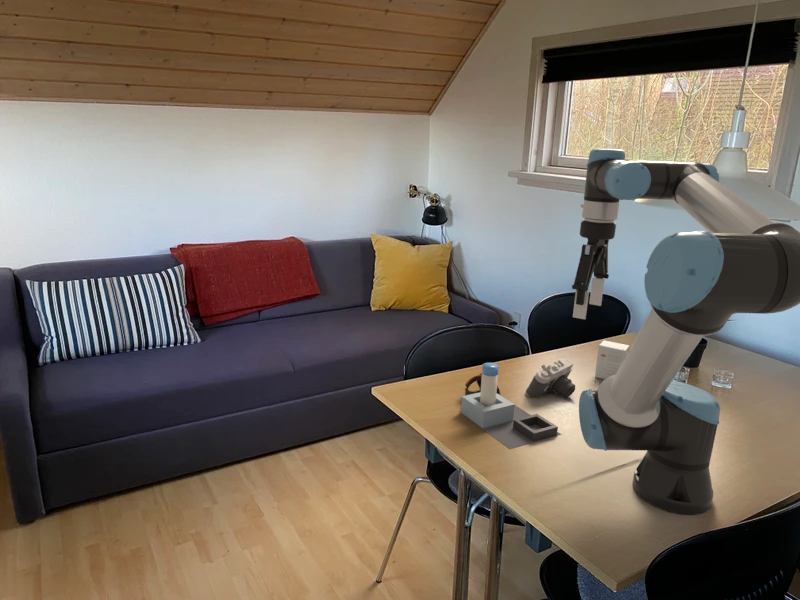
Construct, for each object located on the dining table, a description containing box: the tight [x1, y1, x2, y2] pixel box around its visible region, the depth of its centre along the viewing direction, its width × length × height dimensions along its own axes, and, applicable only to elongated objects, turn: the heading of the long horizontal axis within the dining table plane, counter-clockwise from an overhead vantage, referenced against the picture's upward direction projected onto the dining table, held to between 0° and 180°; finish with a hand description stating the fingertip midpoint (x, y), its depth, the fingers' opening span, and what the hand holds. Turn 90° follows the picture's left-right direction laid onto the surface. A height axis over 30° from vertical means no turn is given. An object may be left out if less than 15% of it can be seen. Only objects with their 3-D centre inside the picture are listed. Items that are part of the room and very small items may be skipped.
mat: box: [458, 404, 562, 450], centre depth 149 cm, size 21×16×1 cm
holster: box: [513, 413, 559, 443], centre depth 144 cm, size 8×8×2 cm
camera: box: [525, 357, 576, 399], centre depth 166 cm, size 9×16×10 cm, turn 134°
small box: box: [594, 339, 630, 380], centre depth 180 cm, size 8×6×10 cm
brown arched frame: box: [464, 372, 502, 396], centre depth 163 cm, size 12×10×8 cm
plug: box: [480, 362, 500, 407], centre depth 150 cm, size 4×4×14 cm
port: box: [460, 392, 516, 429], centre depth 151 cm, size 10×10×4 cm
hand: (587, 311), depth 138 cm, fingers open, 13 cm apart
